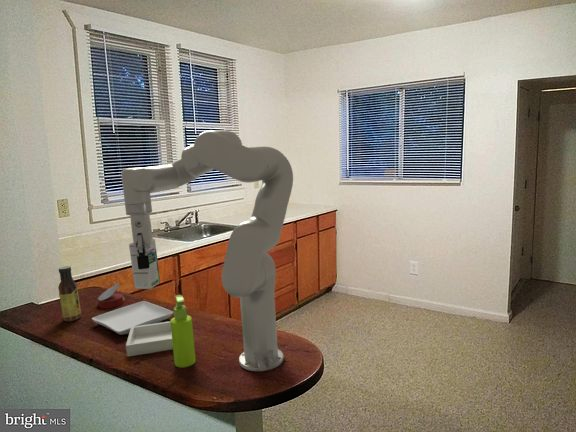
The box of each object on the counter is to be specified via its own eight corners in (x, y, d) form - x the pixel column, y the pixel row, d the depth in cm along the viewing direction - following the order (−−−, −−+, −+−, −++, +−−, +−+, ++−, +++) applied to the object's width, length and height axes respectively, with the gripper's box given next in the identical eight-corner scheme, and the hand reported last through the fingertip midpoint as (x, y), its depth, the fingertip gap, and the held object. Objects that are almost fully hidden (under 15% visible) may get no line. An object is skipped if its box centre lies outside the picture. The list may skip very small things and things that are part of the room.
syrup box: (151, 289, 128) (146, 242, 126) (133, 288, 129) (128, 242, 127) (160, 283, 134) (155, 238, 131) (143, 282, 135) (138, 238, 132)
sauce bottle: (82, 319, 157) (75, 267, 154) (64, 323, 154) (56, 271, 150) (80, 314, 162) (73, 264, 159) (62, 318, 159) (54, 267, 156)
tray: (175, 348, 129) (174, 338, 129) (127, 356, 126) (125, 345, 126) (175, 330, 143) (174, 320, 142) (132, 336, 140) (131, 326, 139)
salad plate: (144, 307, 167) (143, 299, 166) (175, 319, 153) (174, 310, 152) (91, 326, 151) (89, 317, 151) (120, 342, 137) (118, 332, 137)
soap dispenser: (177, 371, 116) (169, 302, 113) (173, 360, 123) (166, 294, 119) (198, 365, 119) (191, 298, 115) (193, 355, 125) (187, 290, 122)
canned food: (118, 317, 169) (110, 301, 163) (96, 313, 172) (87, 297, 166) (132, 296, 178) (125, 279, 172) (111, 293, 180) (104, 276, 174)
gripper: (149, 211, 120) (156, 271, 123) (153, 204, 137) (159, 257, 140) (121, 213, 118) (128, 274, 121) (129, 206, 135) (135, 259, 138)
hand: (145, 264), depth 130 cm, fingers closed on syrup box, 7 cm apart
